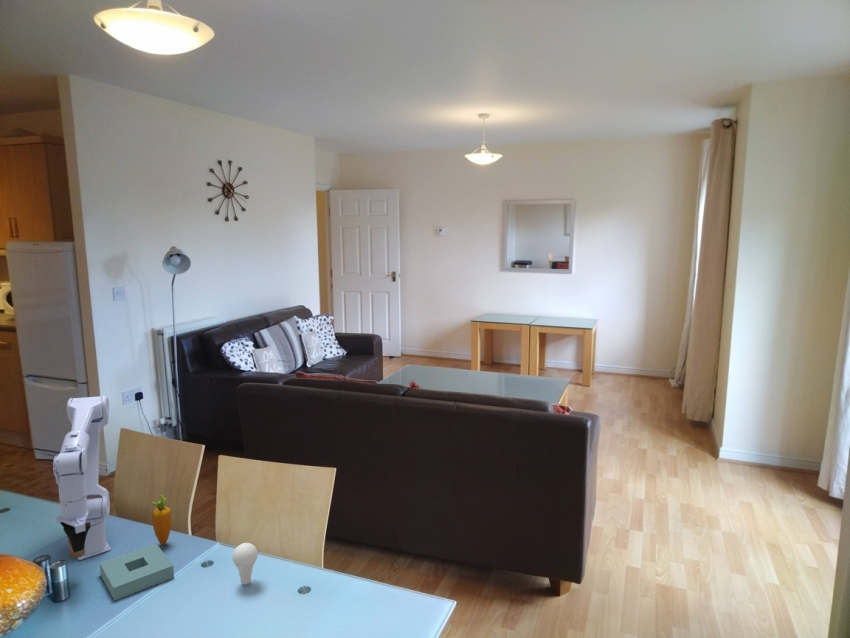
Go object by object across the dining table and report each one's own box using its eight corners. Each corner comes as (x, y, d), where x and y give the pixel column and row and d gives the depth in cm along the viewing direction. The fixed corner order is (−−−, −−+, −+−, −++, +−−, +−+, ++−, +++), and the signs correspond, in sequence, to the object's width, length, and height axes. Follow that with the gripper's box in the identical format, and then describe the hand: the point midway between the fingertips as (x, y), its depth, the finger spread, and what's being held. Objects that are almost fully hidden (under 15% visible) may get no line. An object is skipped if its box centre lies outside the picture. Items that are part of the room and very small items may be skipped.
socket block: (100, 575, 142) (99, 562, 142) (156, 555, 152) (156, 543, 151) (114, 601, 132) (113, 587, 132) (173, 577, 142) (173, 565, 141)
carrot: (165, 551, 154) (162, 501, 152) (150, 548, 155) (147, 499, 153) (176, 541, 159) (174, 493, 157) (161, 539, 160) (159, 492, 158)
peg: (68, 554, 139) (66, 528, 138) (83, 549, 141) (81, 524, 140) (71, 560, 136) (68, 534, 135) (86, 555, 139) (84, 529, 138)
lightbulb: (263, 580, 141) (262, 541, 140) (246, 594, 136) (245, 553, 134) (245, 574, 144) (244, 535, 142) (228, 587, 138) (226, 547, 137)
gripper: (49, 492, 139) (53, 541, 141) (59, 513, 129) (63, 565, 131) (81, 484, 144) (84, 532, 146) (93, 504, 133) (97, 554, 135)
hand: (77, 547), depth 139 cm, fingers closed on peg, 3 cm apart
